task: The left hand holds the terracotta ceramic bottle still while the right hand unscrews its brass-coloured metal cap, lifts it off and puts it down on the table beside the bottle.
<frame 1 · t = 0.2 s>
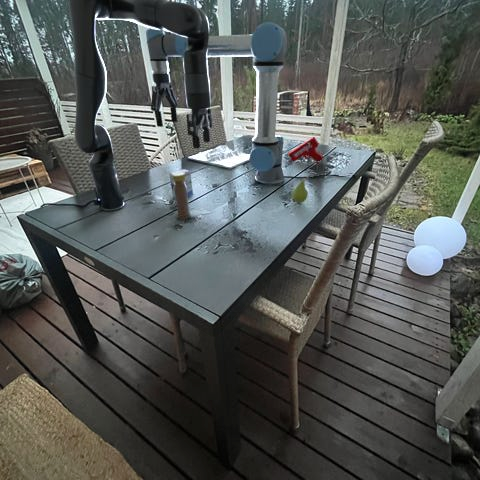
left hand: (201, 144, 92), 29 cm above the table, tool pointing down, fingers open, 8 cm apart
right hand: (167, 124, 132), 28 cm above the table, tool pointing down, fingers open, 13 cm apart
relief map: (222, 158, 179), on the table
bottle: (184, 216, 110), on the table
ink box: (183, 196, 128), on the table
toy gun: (304, 161, 172), on the table
cap: (178, 174, 101), point 18 cm above the table, screwed on, not yet turned
fruit: (299, 202, 122), on the table
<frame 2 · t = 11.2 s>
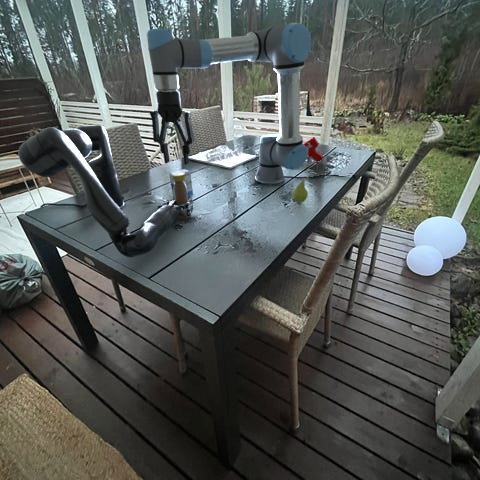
left hand: (185, 200, 109), 6 cm above the table, tool horizontal, fingers closed on bottle, 4 cm apart
right hand: (177, 162, 98), 22 cm above the table, tool pointing down, fingers open, 7 cm apart
bottle: (184, 216, 110), on the table, touching left hand
everything else where it was.
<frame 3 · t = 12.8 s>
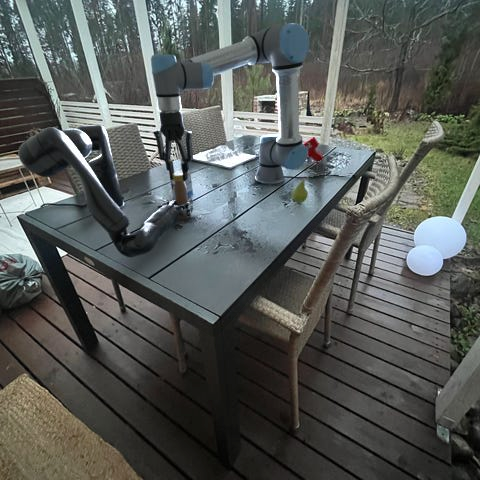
left hand: (185, 200, 109), 6 cm above the table, tool horizontal, fingers closed on bottle, 4 cm apart
right hand: (179, 179, 102), 16 cm above the table, tool pointing down, fingers closed on cap, 4 cm apart
bottle: (184, 216, 110), on the table, touching left hand
cap: (178, 174, 101), point 18 cm above the table, screwed on, not yet turned, touching right hand
everything else where it was.
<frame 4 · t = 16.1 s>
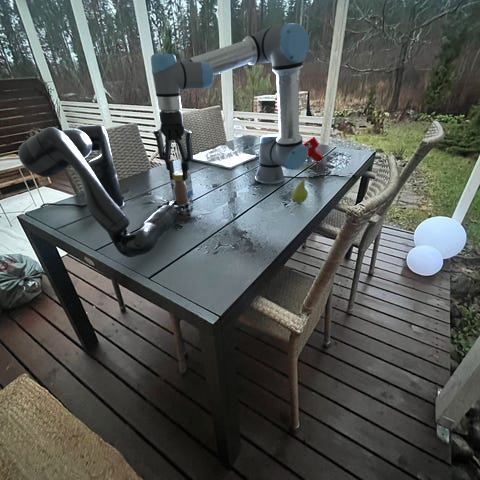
left hand: (185, 200, 109), 6 cm above the table, tool horizontal, fingers closed on bottle, 4 cm apart
right hand: (179, 178, 102), 16 cm above the table, tool pointing down, fingers closed on cap, 4 cm apart
bottle: (184, 216, 110), on the table, touching left hand
cap: (178, 174, 101), point 18 cm above the table, turned 114° so far, risen 0.1 cm, still on its thread, touching right hand
everything else where it was.
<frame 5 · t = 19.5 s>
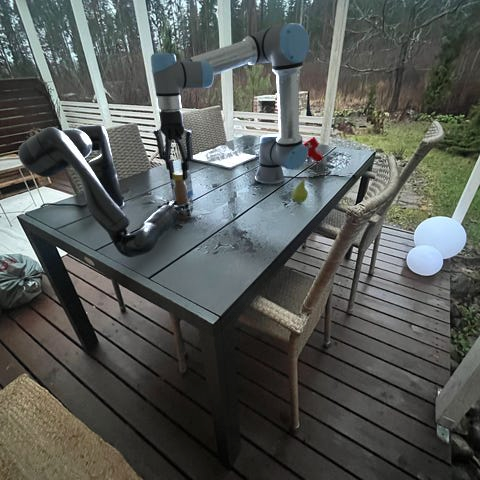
left hand: (185, 200, 109), 6 cm above the table, tool horizontal, fingers closed on bottle, 4 cm apart
right hand: (179, 178, 102), 16 cm above the table, tool pointing down, fingers closed on cap, 4 cm apart
bottle: (184, 216, 110), on the table, touching left hand
cap: (178, 173, 101), point 18 cm above the table, turned 229° so far, risen 0.3 cm, still on its thread, touching right hand
everything else where it was.
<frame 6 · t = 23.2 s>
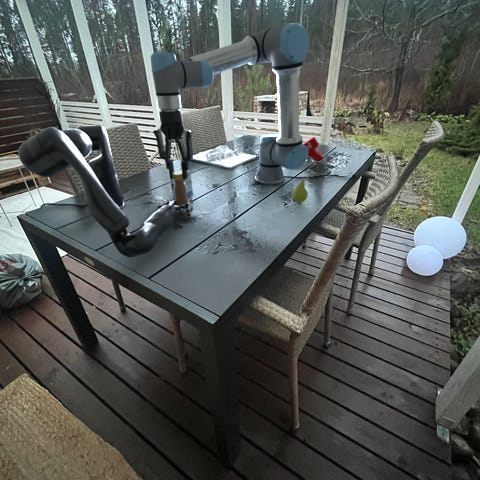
left hand: (185, 200, 109), 6 cm above the table, tool horizontal, fingers closed on bottle, 4 cm apart
right hand: (179, 178, 102), 16 cm above the table, tool pointing down, fingers closed on cap, 4 cm apart
bottle: (184, 216, 110), on the table, touching left hand
cap: (178, 173, 101), point 18 cm above the table, turned 343° so far, risen 0.4 cm, still on its thread, touching right hand
everything else where it was.
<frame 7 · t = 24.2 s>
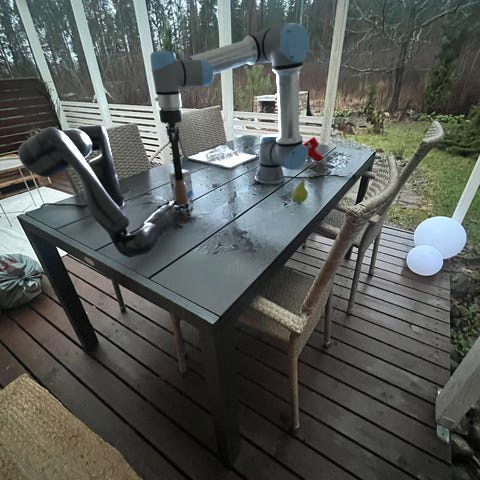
left hand: (185, 200, 109), 6 cm above the table, tool horizontal, fingers closed on bottle, 4 cm apart
right hand: (179, 177, 101), 17 cm above the table, tool pointing down, fingers closed on cap, 4 cm apart
bottle: (184, 216, 110), on the table, touching left hand
cap: (178, 172, 101), point 18 cm above the table, off its thread, touching right hand
everything else where it was.
when the right hand's fingers open (1 cm above the table, at t = 29.8 s): cap stays where it is, point 2 cm above the table.
when the left hand's fingers open (6 cm above the table, at t = 31.1 s): bottle stays where it is, on the table.
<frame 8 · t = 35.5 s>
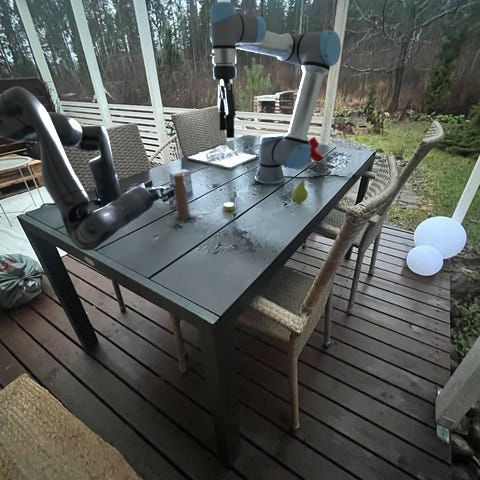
left hand: (162, 184, 92), 18 cm above the table, tool horizontal, fingers open, 8 cm apart
right hand: (226, 133, 100), 31 cm above the table, tool pointing down, fingers open, 13 cm apart
bottle: (184, 216, 110), on the table
cap: (228, 205, 115), point 2 cm above the table, off its thread
everything else where it was.
at the end: cap came off its thread; cap point 1.8 cm above the table; the left hand is holding nothing; the right hand is holding nothing; bottle tilted 0°; bottle moved 0.0 cm from its start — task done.
